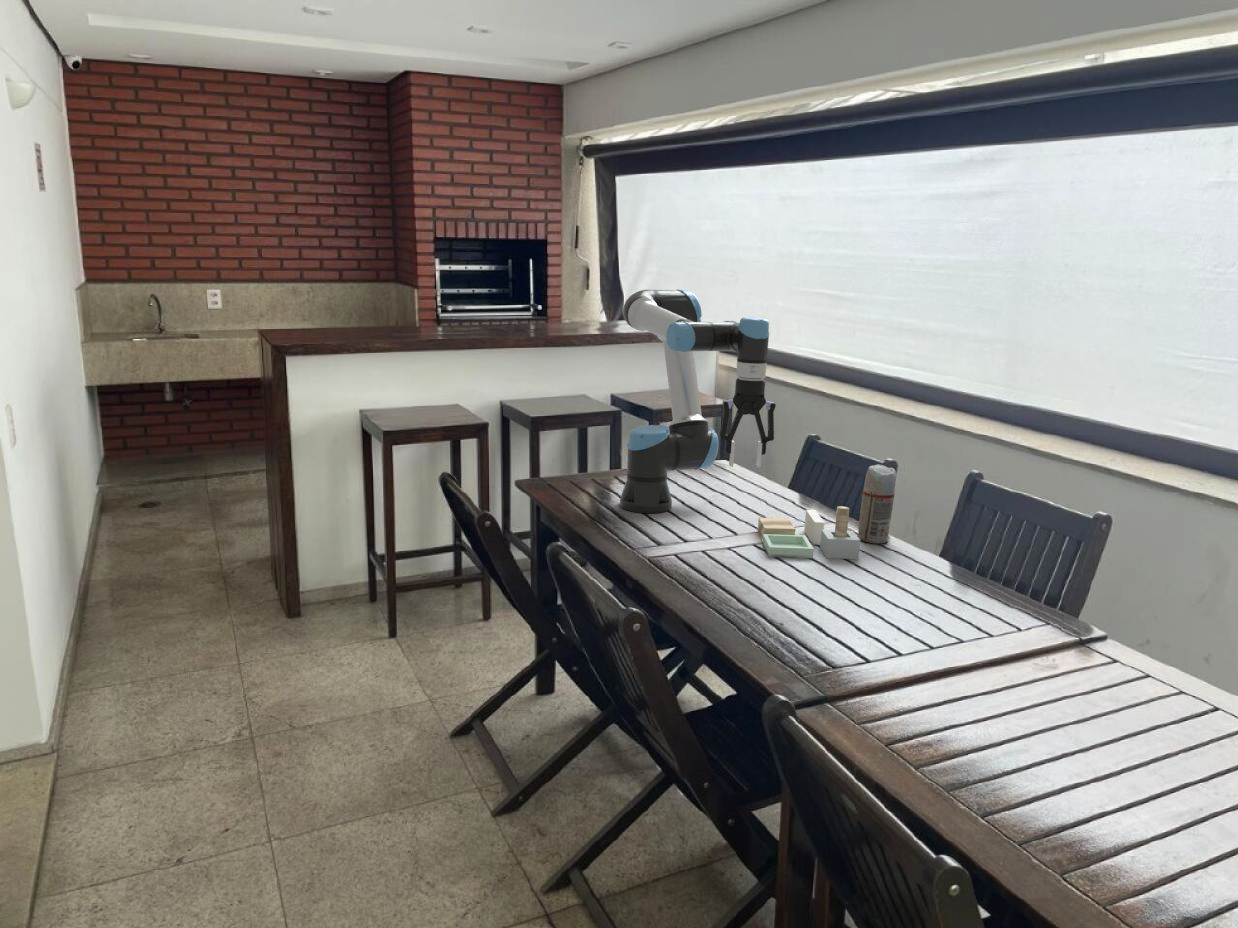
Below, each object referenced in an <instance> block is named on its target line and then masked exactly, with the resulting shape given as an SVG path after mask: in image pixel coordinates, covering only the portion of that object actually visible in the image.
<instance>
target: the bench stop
mask: <svg viewBox="0 0 1238 928" xmlns="http://www.w3.org/2000/svg"><path fill="white" fill-rule="evenodd" d="M822 530H825V521H824V520H823V519H822V517H821V515H819V512H817V510H816V509H805V519H804V533H805V534H806V537H807V538H808V540H809V542H810V543H811V545H818V546H820V543H821V531H822Z"/></svg>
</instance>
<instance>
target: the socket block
mask: <svg viewBox="0 0 1238 928" xmlns="http://www.w3.org/2000/svg"><path fill="white" fill-rule="evenodd" d="M834 536H835V529H824V530H822V531H821V543H820V545H819V549H820V550H821V552H822V553H823V554H824V556H825V559H836V560H837V559H840V560H842V559H843V560H845V559H846V560H859V557H860V550H861V549H860V547H861V539H859V538H858V537H857V536H858V534H856V532H854V530H849V529H847V537H834Z"/></svg>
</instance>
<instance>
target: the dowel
mask: <svg viewBox="0 0 1238 928" xmlns="http://www.w3.org/2000/svg"><path fill="white" fill-rule="evenodd" d="M835 515H836V516H835V526H834V530H835V536H834V537H847V530H848V528H849V527H848V525H849V516H850V507H847V506H837V507H836V514H835Z"/></svg>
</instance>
